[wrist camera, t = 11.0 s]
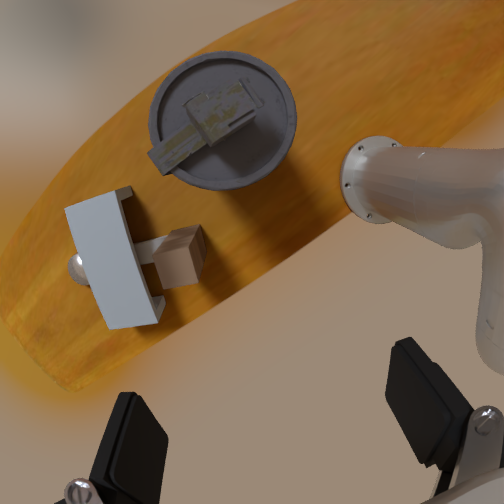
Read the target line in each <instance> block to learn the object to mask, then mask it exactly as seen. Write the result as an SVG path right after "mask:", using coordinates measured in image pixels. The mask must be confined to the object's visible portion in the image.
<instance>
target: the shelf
mask: <svg viewBox="0 0 504 504" xmlns="http://www.w3.org/2000/svg"><path fill="white" fill-rule="evenodd" d="M130 196H133V194H132V190H131V186H127V187H124V188H121V189H118V190H115V191H112V192H109V193H106V194H103V195H100V196H97V197H94V198H91V199H88V200H86V201H83V202H80V203H77V204H75V205H72V206H69V207H67V208H64V209H65V212H66V216H67V220H68V223H69V226H70V230H71V233H72V236H73V239H74V242H75V246H76V249H77V251H78V254H79V257H80V260H81V263H82V266H83V268H84V271H85V274H86V276H87V279H88V282H89V284H90V287H91V289H92V291H93V294H94V296H95V299H96V301H97V303H98V306H99V308H100V310H101V313H102V315H103V317H104V319H105V321H106V323H107V326H108V328H109V330H111V329H119V328H126V327H134V326H141V325H148V324H155V323H158V322H159V320H160V317H161V315H162V312H163V310H164V308H165V305H166V301H165V299H164V296H163V295H162V296H157V297H151V295H150V292H149V290H148V287H147V284H146V281H145V278H144V276H143V273H142V270H141V267H140V264H139V261H138V258H137V255H136V252H135V248H134V245H133V242H132V239H131V236H130V232H129V229H128V225H127V222H126V218H125V215H124V211H123V207H122V204H121V200H123V199H125V198H128V197H130Z"/></svg>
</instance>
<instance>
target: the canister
mask: <svg viewBox="0 0 504 504" xmlns="http://www.w3.org/2000/svg"><path fill="white" fill-rule="evenodd" d="M296 125H297V112H296V105H295V101H294V98H293V96H292V93H291V90H290V88H289V87H288V85H287V84H286V82H285V81H284V80H283V78H282V77H281V76H280V75H279V74H278V72H277V71H276V70H275V69H274V68H272V67H271V66H269V65H268V64H266V63H265V62H263V61H262V60H260V59H258V58H256V57H254V56H251V55H249V54H245V53H241V52H235V51H216V52H210V53H205V54H201V55H199V56H196V57H193V58H191V59H188V60H187V61H185V62H184V63H182V64H181V65H180V66H178V67H177V68H176V69H174V70H173V71H171V72H170V74H169V75H168V76H167V77H166V78H165V80H164V81H163V82H162V84H161V85H160V86H159V88H158V89H157V91H156V93H155V96H154V98H153V101H152V103H151V106H150V112H149V122H148V127H149V134H150V140H151V142H152V145H153V147H154V148H152V149H151V150H150V151H149V152H148V153H147V154H148V156H149V157H150V158H151V160H152V161H153V163H154V164H155V166H156V167H157V168H158V170H159V171H160V173H161V174H162V176H165V175H169V174H174V175H175V176H176V177H177V178H179V179H180V180H182V181H184V182H186V183H187V184H189V185H192V186H196V187H199V188H202V189H207V190H213V191H219V190H234V189H238V188H242V187H245V186H248V185H250V184H253V183H255V182H257V181H259V180H261V179H262V178H264V177H266V176H267V175H269V174H270V173H271V172H272V171H273V170H274V169H275V168H276V167H277V166H278V165H279V164H280V163H281V162H282V160H283V159H284V158H285V156H286V154H287V153H288V151H289V149H290V147H291V145H292V142H293V139H294V136H295V131H296Z"/></svg>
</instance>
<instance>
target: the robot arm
mask: <svg viewBox="0 0 504 504" xmlns="http://www.w3.org/2000/svg"><path fill="white" fill-rule="evenodd" d="M358 147H360V150H358ZM346 183H347V186H346V187H345V184H346ZM340 186H341V191H342V195H343V197H344V200H345V202H346V204H347V205H348V207H349V208H350V209H351V211H352V212H354V213H355V214H356V215H357V216H358V217H360V218H362V219H363V220H366V221H367V222H370V223H375V224H384V223H389V222H392V221H393V222H395V223H398V224H399V225H402V226H403V227H406V228H407V229H410V230H412V231H414V232H416V233H417V234H419V235H422V236H423V237H425V238H427V239H429V240H431V241H433V242H435V243H438V244H439V245H441V246H444V247H446V248H450V249H464V248H467V247H470V246H473V245H475V244H476V243H478V242H480V241H481V244H482V250H483V260H482V271H483V272H482V283H481V292H480V300H479V308H478V316H477V323H476V346H477V350H478V353H479V355H480V357H481V359H482V360H483V362H484V363H485V364H486V365H487V366H488V367H489V368H491V369H492V370H494V371H495V372H497V373H499V374H502V375H504V148H501V149H457V148H434V147H403V146H402V145H401V144H400V143H398V142H397V141H395V140H393V139H391V138H388V137H385V136H372V137H368V138H364V139H362V140H360V141H359V142H357V143H356V144H355V145H354V146H352V147H351V149H350V150H349V151H348V153H347V154H346V156H345V158H344V160H343V163H342V167H341V171H340ZM367 214H368V216H367ZM385 396H386V400H387V402H388V404H389V406H390V408H391V410H392V412H393V413H394V415H395V417H396V419H397V421H398V423H399V425H400V427H401V428H402V430H403V432H404V434H405V436H406V438H407V440H408V442H409V444H410V446H411V448H412V449H413V451H414V453H415V455H416V457H417V459H418V461H419V463H421V464H423V463H424V464H425V466H426V468H428V467H430V466H431V465H433V464H436V465H437V467H438V469H439V470H440V471H439V474H438V477H437V480H436V483H435V486H434V488H433V491H432V494H431V496H430V499H429V500H427V501H425V502H423V503H421V504H504V416H503V414H502V412H501V411H500V410H499V409H497V408H496V407H493V406H482V407H480V408H478V409H476V410H474V409H473V408H472V406H471V405H470V404H469V402H468V401H467V400H466V399H465V397H464V396H463V395H462V393H461V392H460V391H459V390H458V388H457V387H456V386H455V384H454V383H453V382H452V381H451V379H450V378H449V377H448V376H447V375H446V373H445V372H444V371H443V370H442V368H441V367H440V366H439V365H438V364H437V363H435V362H432V361H431V359H430V358H429V357H428V356H427V355H426V353H425V352H424V351H423V350H422V349H421V348H420V346H419V345H418V344H417V343H416V342H415V340H414V339H413V338H412V337H408V338H405V339H402V340H399V341H397V342H396V343H395V346H394V347H392V349H391V357H390V365H389V372H388V379H387V385H386V391H385ZM167 448H168V436H167V434H166V433H165V431H164V430H163V428H162V427H161V425H160V424H159V423H158V421H157V420H156V419H155V417H154V415H153V414H152V412H151V411H150V409H149V408H148V406H147V405H146V403H145V402H144V400H143V398H142V397H141V396H140V395H137V394H136V393H135V392H121V393H120V394H119V395H118V398H117V400H116V403H115V405H114V408H113V411H112V413H111V416H110V419H109V421H108V424H107V427H106V430H105V432H104V435H103V438H102V440H101V443H100V446H99V449H98V452H97V455H96V458H95V461H94V464H93V467H92V470H91V473H90V476H89V480H87V479H84V478H77V479H74V480H72V481H71V482H69V483H68V485H67V486H66V488H65V491H64V497H65V499H62V500H60V501H58V502H56V503H54V504H159V501H160V493H161V486H162V479H163V472H164V466H165V459H166V454H167Z"/></svg>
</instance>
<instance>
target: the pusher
mask: <svg viewBox="0 0 504 504" xmlns="http://www.w3.org/2000/svg"><path fill="white" fill-rule="evenodd" d="M133 245H134V248H135V252H136V255H137V258H138V261H139V264H140V265H143V264H148V263H152V262H154V263H155V266H156V269H157V272H158V275H159V278H160V281H161V284H162V287H163V290H164V289H169V288H175V287H180V286H185V285H190V284H195V283H199V279H200V276H201V272H202V268H203V265H204V261H205V257H206V254H207V250H206V246H205V243H204V239H203V235H202V231H201V227H200V224H199V225H194V226H190V227H186V228H181V229H177V230H173V231H171V232H170V233H169V235H167V236H163V237H159V238H155V239H151V240H146V241H142V242H138V243H134V244H133Z"/></svg>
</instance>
